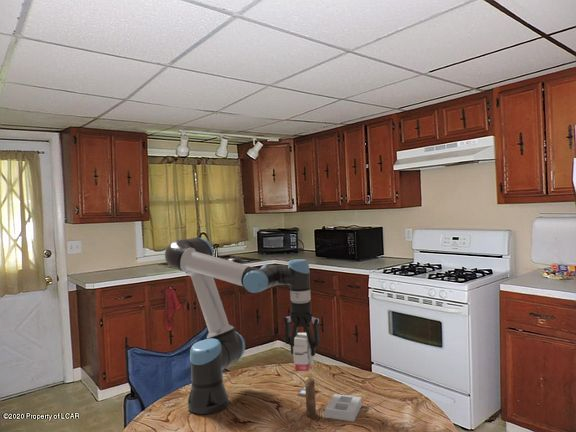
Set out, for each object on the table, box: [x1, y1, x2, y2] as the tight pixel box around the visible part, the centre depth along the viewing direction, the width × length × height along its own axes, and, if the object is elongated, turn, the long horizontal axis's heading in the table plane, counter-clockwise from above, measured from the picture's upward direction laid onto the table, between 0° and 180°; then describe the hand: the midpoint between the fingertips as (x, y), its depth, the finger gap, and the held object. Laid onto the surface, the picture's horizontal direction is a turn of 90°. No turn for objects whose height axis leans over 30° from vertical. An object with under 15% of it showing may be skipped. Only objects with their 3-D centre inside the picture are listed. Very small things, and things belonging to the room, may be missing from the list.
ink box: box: [294, 332, 311, 372], centre depth 154 cm, size 9×5×12 cm, turn 168°
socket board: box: [324, 393, 363, 422], centre depth 146 cm, size 10×12×3 cm
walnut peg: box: [304, 378, 317, 419], centre depth 144 cm, size 3×3×12 cm
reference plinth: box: [297, 376, 310, 397], centre depth 164 cm, size 4×8×5 cm, turn 158°
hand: (303, 363), depth 154 cm, fingers closed on ink box, 5 cm apart
